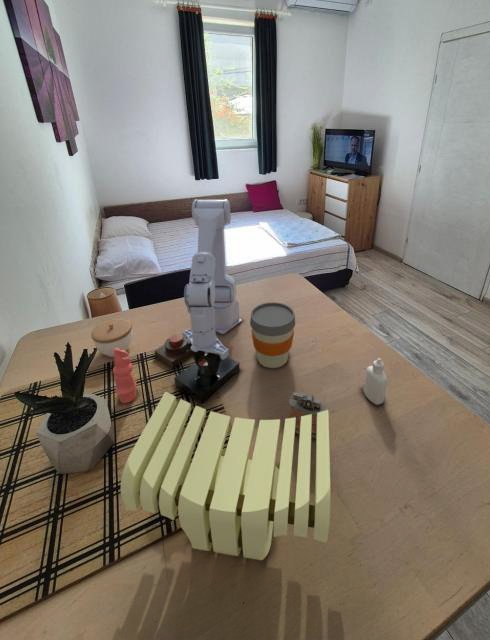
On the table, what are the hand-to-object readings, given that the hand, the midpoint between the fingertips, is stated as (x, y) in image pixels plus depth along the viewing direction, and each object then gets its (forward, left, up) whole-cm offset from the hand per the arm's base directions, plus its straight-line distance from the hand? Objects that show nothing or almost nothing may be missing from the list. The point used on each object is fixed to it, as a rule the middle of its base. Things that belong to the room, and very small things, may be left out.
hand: (207, 368), depth 86 cm
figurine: (+16, -12, -4) cm, 20 cm away
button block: (-2, -15, -3) cm, 16 cm away
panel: (0, 0, -3) cm, 3 cm away
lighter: (-2, +29, -4) cm, 29 cm away
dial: (0, 0, 0) cm, 0 cm away
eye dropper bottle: (-20, +38, -4) cm, 43 cm away
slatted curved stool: (+19, +27, -4) cm, 34 cm away
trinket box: (+8, -31, -4) cm, 32 cm away
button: (-2, -15, 0) cm, 15 cm away
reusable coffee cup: (-17, +9, -4) cm, 20 cm away
